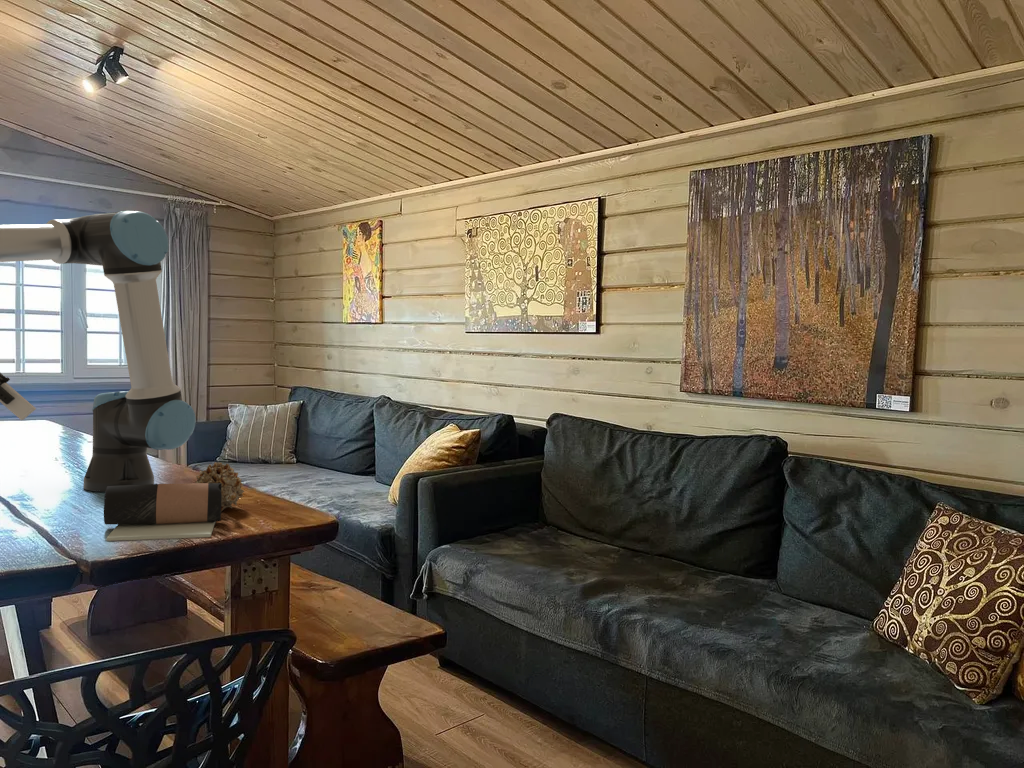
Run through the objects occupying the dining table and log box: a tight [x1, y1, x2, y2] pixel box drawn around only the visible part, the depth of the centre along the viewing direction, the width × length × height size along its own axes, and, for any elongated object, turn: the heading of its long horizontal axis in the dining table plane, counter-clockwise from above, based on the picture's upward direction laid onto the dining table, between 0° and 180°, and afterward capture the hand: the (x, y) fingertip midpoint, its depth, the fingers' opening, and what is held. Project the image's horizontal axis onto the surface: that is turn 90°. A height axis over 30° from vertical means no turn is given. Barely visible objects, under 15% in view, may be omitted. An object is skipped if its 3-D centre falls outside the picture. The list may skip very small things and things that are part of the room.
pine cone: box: [194, 461, 245, 513], centre depth 155 cm, size 22×10×10 cm, turn 38°
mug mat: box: [106, 521, 216, 542], centre depth 138 cm, size 17×13×1 cm
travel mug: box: [103, 482, 222, 526], centre depth 141 cm, size 8×8×20 cm
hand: (28, 414), depth 130 cm, fingers closed
